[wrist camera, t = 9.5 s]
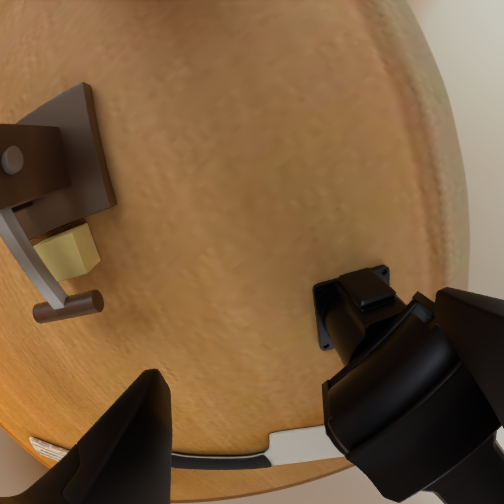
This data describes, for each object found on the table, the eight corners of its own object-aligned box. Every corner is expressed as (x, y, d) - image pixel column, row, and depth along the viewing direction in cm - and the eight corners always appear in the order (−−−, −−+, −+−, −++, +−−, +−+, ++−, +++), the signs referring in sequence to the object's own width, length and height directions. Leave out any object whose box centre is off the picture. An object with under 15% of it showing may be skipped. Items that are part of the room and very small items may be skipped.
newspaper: (155, 466, 29) (154, 476, 27) (165, 482, 31) (164, 491, 30) (31, 434, 27) (28, 441, 25) (48, 454, 29) (46, 461, 27)
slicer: (117, 203, 17) (45, 245, 9) (23, 241, 17) (-45, 287, 9) (90, 84, 14) (13, 54, 6) (-1, 141, 14) (-76, 152, 6)
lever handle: (107, 294, 17) (100, 322, 15) (48, 308, 17) (40, 332, 15) (18, 127, 9) (-8, 142, 7) (-36, 172, 9) (-58, 191, 7)
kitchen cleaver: (409, 409, 28) (385, 452, 30) (404, 402, 29) (381, 445, 31) (158, 432, 24) (170, 474, 27) (160, 422, 26) (171, 465, 28)
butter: (101, 260, 18) (87, 274, 16) (60, 272, 18) (44, 286, 16) (87, 222, 17) (71, 231, 15) (46, 238, 17) (29, 248, 15)
